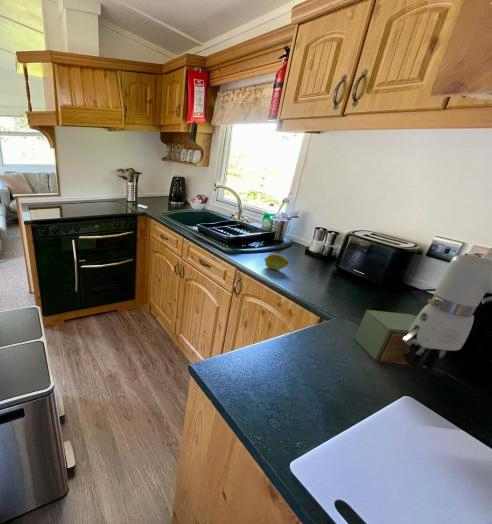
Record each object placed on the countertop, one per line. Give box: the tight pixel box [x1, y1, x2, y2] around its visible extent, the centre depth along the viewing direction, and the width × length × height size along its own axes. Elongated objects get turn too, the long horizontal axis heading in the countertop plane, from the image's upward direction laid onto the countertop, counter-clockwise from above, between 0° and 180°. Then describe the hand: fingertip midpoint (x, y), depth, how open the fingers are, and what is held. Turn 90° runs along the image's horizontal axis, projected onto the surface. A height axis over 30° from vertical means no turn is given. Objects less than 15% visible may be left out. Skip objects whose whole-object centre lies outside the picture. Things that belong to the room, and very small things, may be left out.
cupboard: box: [354, 309, 430, 370], centre depth 86 cm, size 12×14×11 cm
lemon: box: [264, 253, 290, 271], centre depth 143 cm, size 11×8×8 cm
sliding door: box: [380, 333, 431, 372], centre depth 78 cm, size 6×7×10 cm
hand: (418, 364), depth 77 cm, fingers open, 3 cm apart
